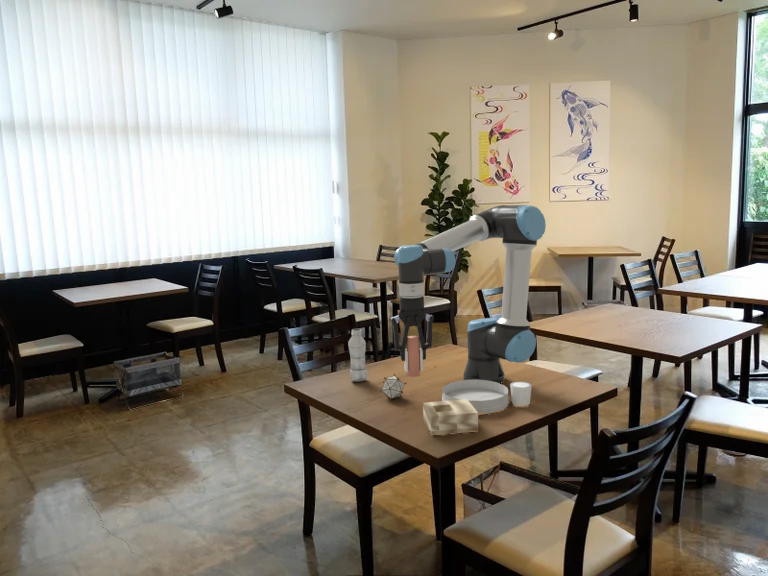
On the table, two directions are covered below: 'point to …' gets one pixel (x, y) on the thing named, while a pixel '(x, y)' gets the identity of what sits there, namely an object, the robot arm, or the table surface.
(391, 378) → the game die
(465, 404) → the birch block
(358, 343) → the plastic bottle
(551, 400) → the table surface
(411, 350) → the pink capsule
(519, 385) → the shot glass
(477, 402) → the dish
